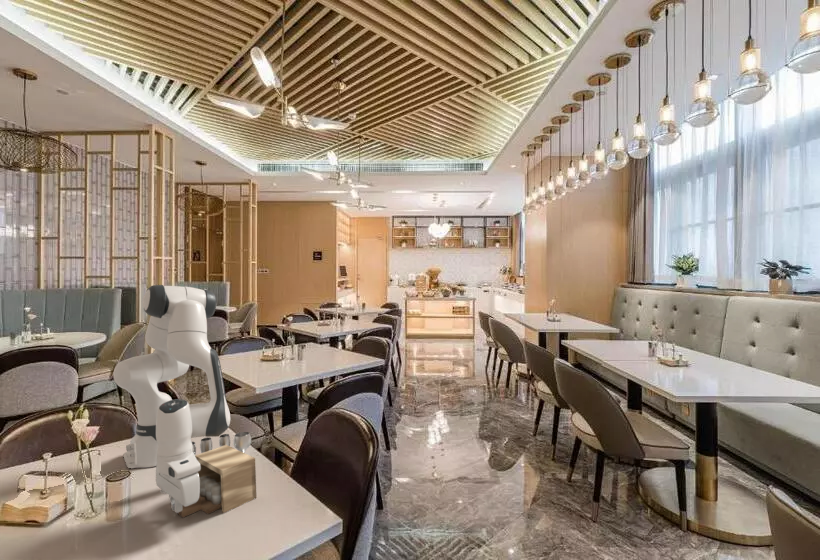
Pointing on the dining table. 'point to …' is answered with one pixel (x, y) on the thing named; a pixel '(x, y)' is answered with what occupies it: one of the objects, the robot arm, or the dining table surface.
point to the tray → (205, 498)
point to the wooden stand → (230, 474)
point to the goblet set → (224, 443)
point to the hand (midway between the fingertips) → (177, 510)
